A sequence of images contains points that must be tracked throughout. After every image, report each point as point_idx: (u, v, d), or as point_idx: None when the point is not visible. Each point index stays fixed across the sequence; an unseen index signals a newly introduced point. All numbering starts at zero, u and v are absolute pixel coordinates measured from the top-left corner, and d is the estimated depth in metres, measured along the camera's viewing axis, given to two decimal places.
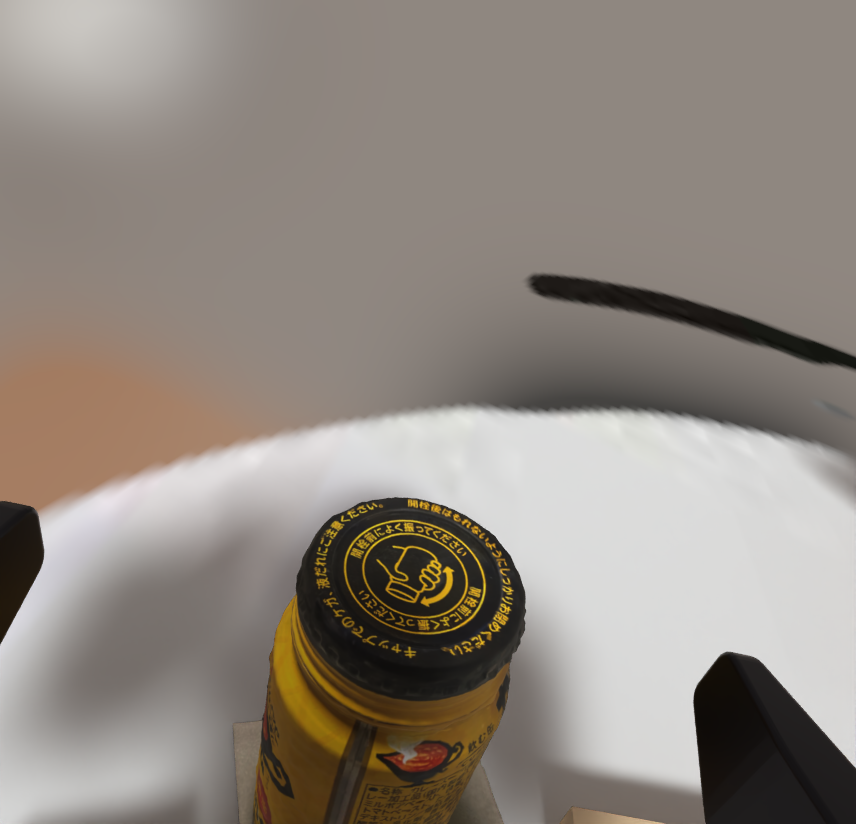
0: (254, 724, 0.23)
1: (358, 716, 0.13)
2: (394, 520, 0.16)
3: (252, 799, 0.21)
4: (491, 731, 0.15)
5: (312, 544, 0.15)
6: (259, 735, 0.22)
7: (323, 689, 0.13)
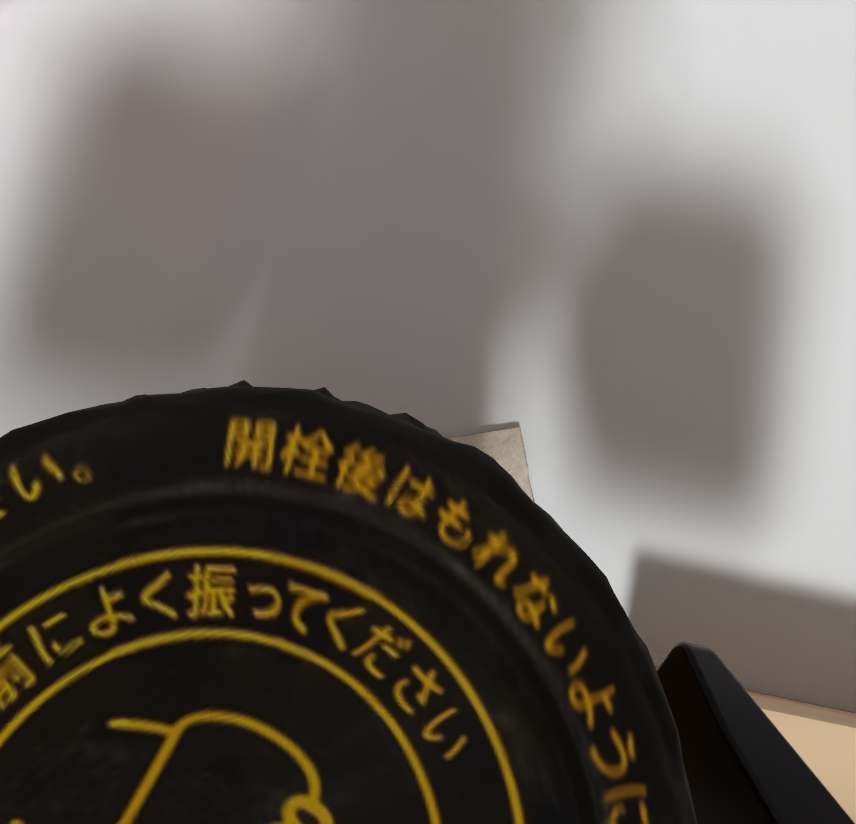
0: None
1: None
2: (143, 557, 0.03)
3: None
4: None
5: None
6: None
7: None
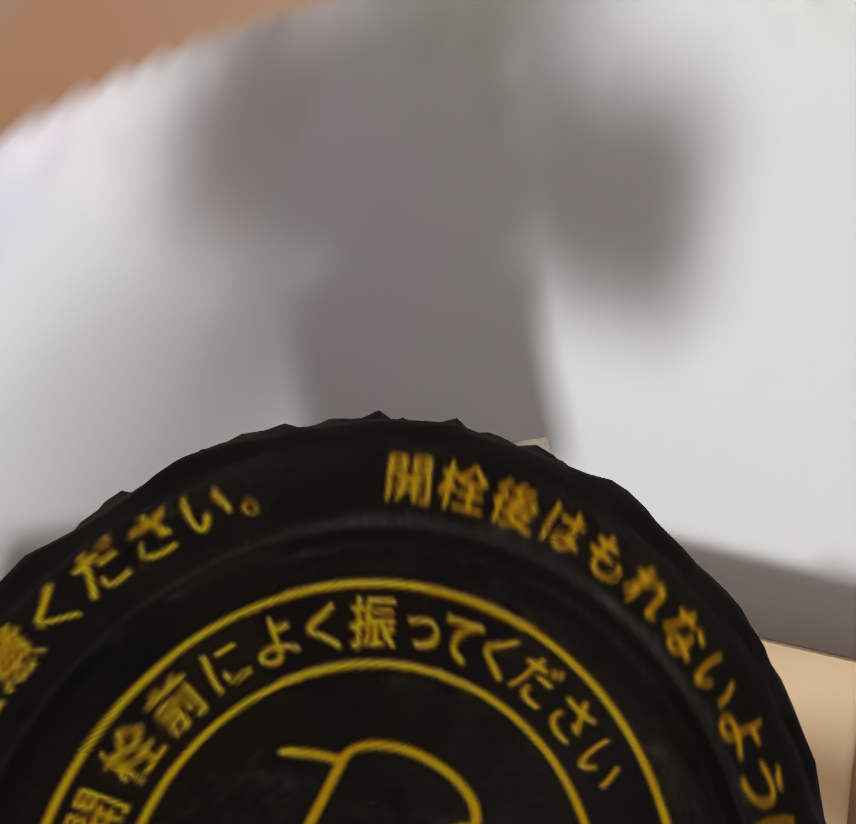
0: None
1: None
2: (308, 589, 0.03)
3: None
4: None
5: None
6: None
7: None
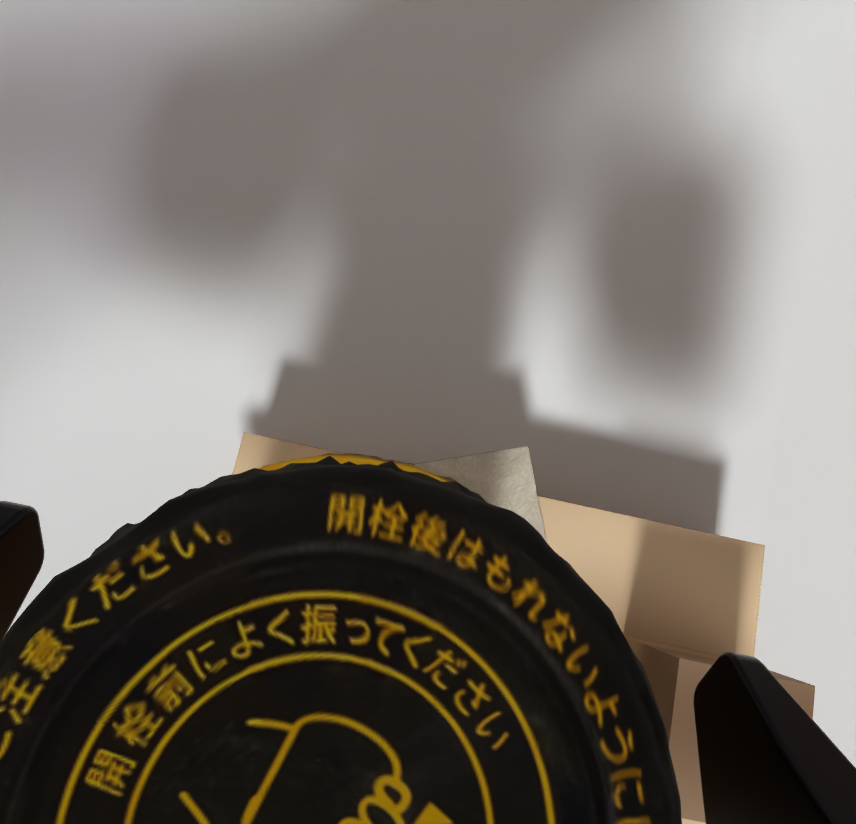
0: None
1: None
2: (268, 599, 0.04)
3: None
4: None
5: None
6: None
7: None
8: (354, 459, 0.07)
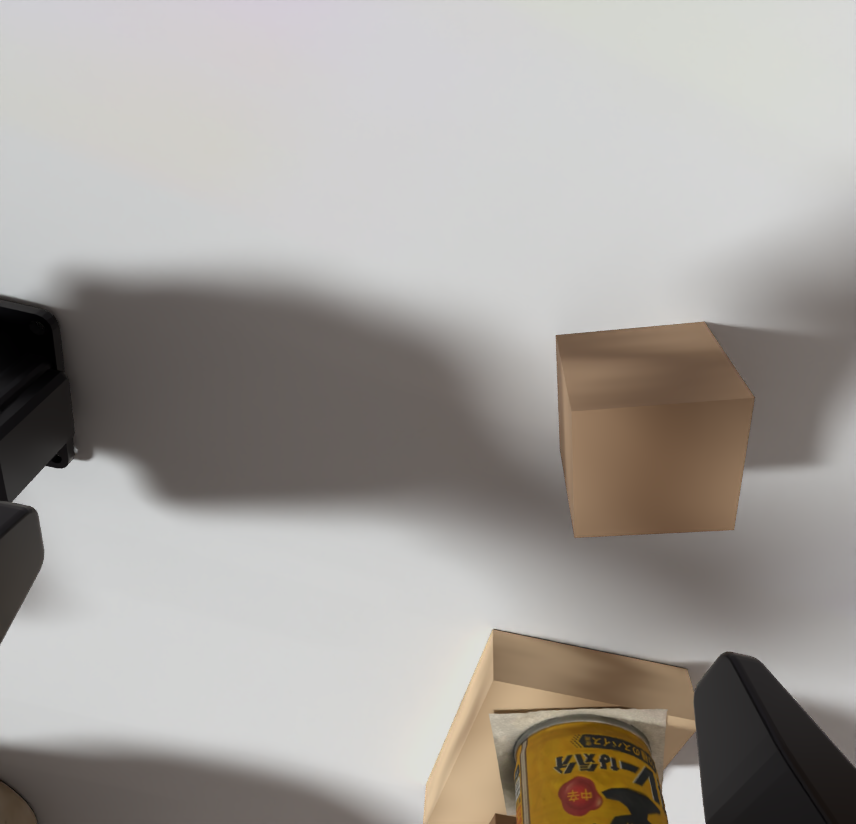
0: (663, 717, 0.27)
1: None
2: None
3: (602, 714, 0.27)
4: None
5: None
6: (652, 719, 0.27)
7: None
8: None
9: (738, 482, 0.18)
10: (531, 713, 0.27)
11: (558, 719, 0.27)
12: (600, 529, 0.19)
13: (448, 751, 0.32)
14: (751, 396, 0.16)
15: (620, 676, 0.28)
